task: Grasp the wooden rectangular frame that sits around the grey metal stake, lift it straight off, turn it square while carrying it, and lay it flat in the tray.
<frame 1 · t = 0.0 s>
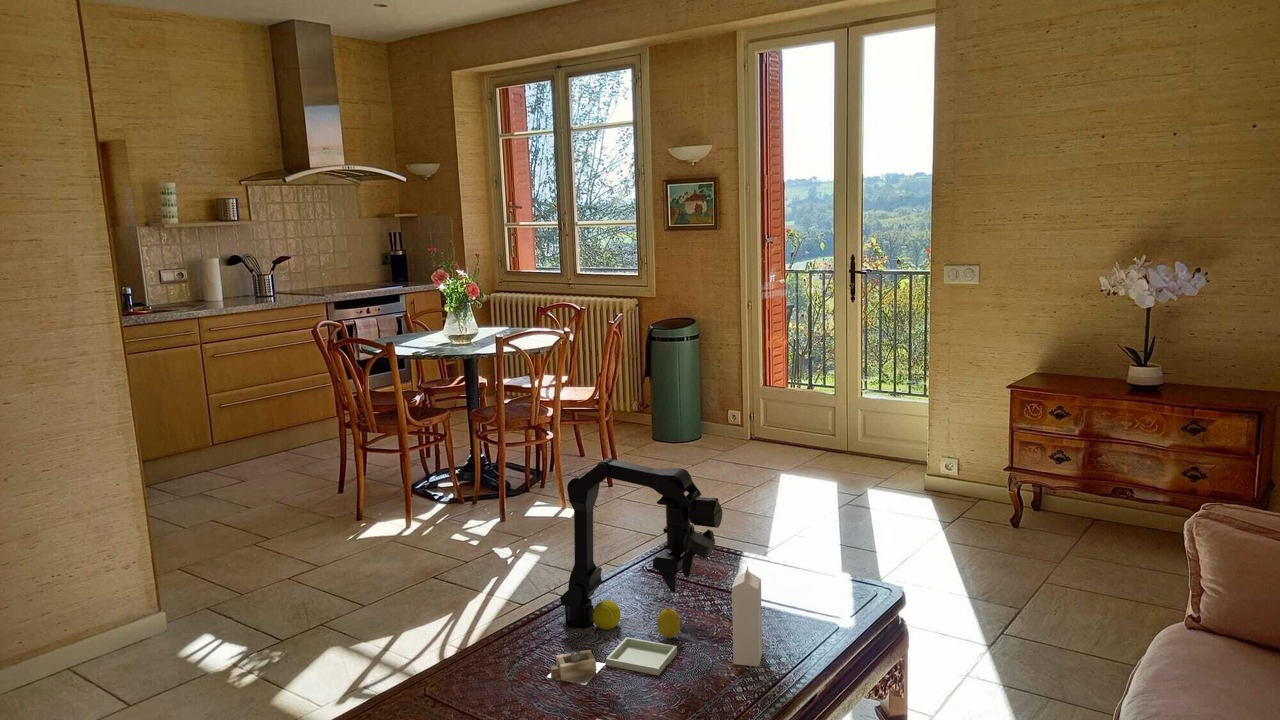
hand: (680, 584, 218), 15 cm above the table, tool pointing down, fingers open, 9 cm apart
lemon: (669, 639, 222), on the table
tennis ball: (607, 628, 229), on the table
milk: (748, 660, 211), on the table
stake: (576, 671, 208), on the table
wooden rectangular frame: (576, 670, 208), resting on stake
tray: (642, 660, 212), on the table
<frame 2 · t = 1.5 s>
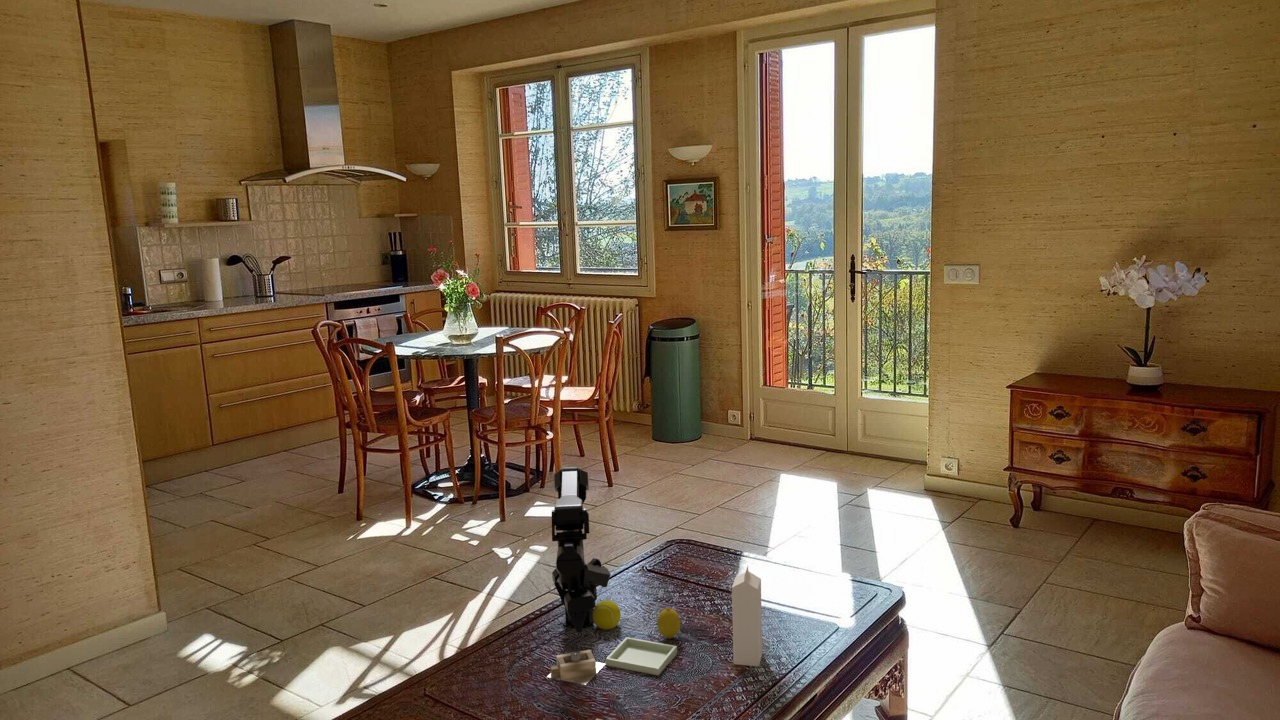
hand: (574, 623, 206), 12 cm above the table, tool pointing down, fingers open, 9 cm apart
nothing on the table moved.
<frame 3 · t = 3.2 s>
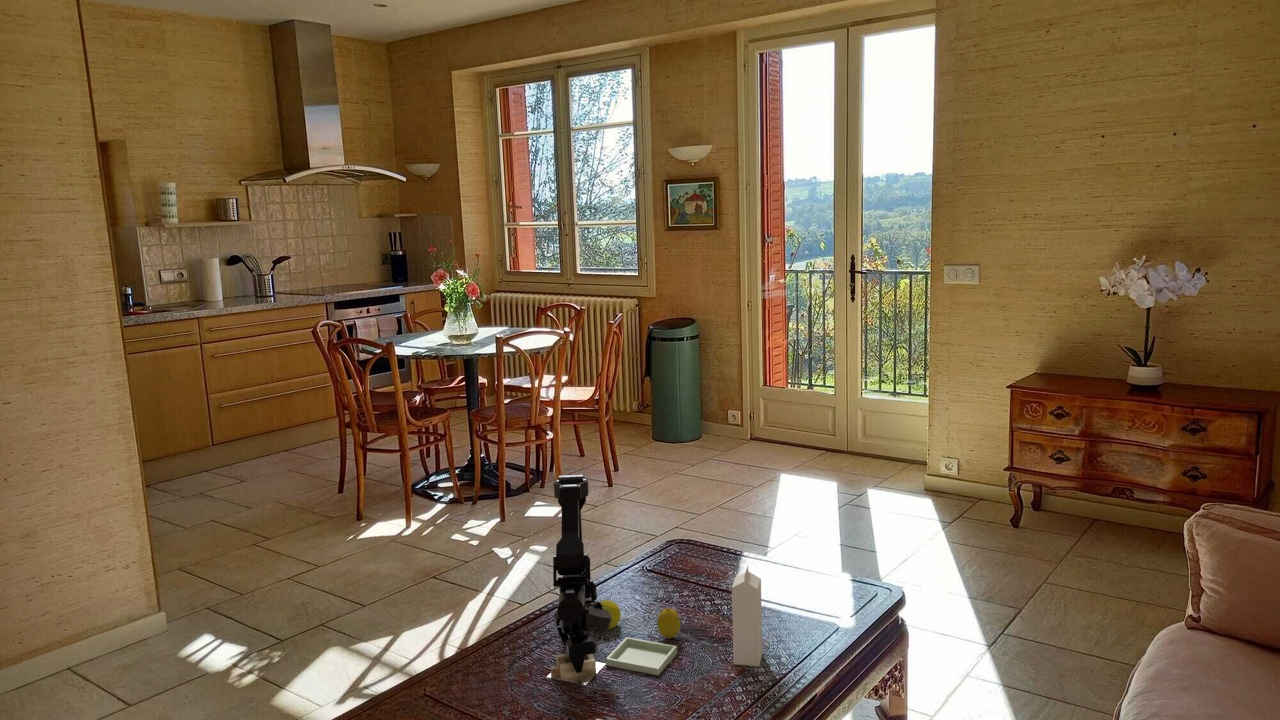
hand: (576, 666, 208), 1 cm above the table, tool pointing down, fingers closed on wooden rectangular frame, 6 cm apart
wooden rectangular frame: (576, 670, 208), resting on stake, touching gripper
everything else where it was.
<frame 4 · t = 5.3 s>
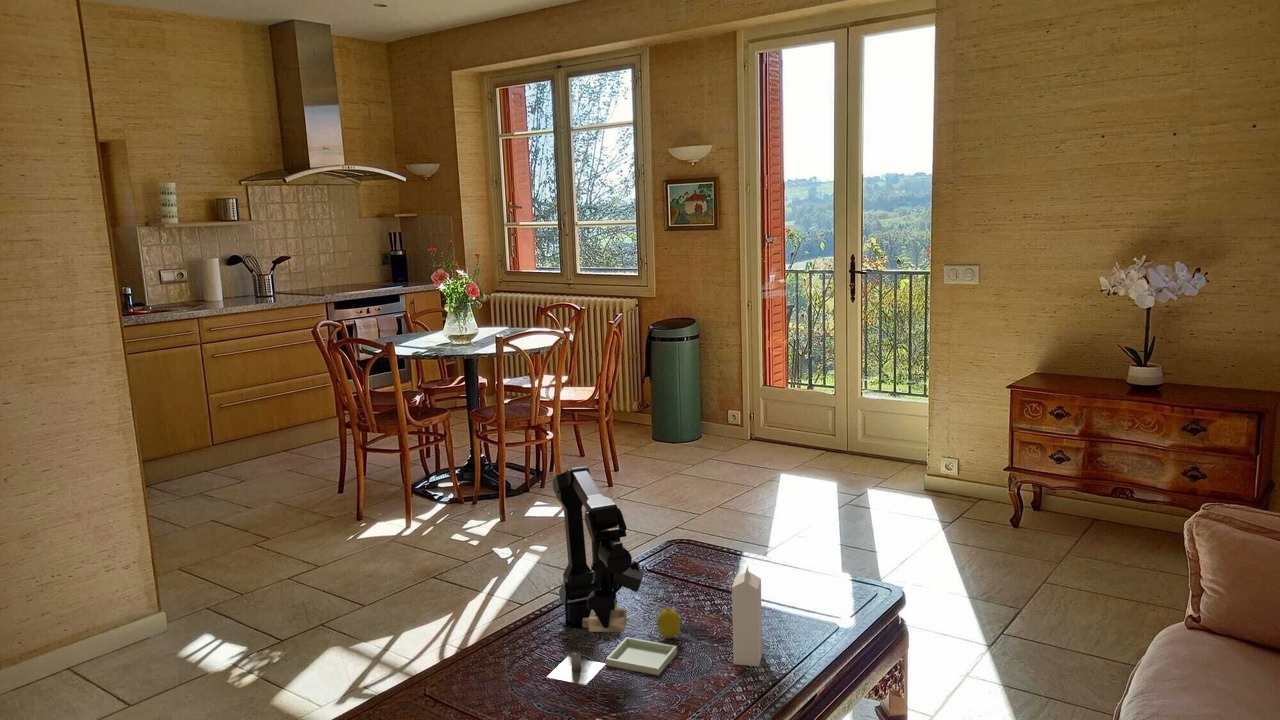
hand: (607, 621, 208), 11 cm above the table, tool pointing down, fingers closed on wooden rectangular frame, 6 cm apart
wooden rectangular frame: (608, 625, 208), point 10 cm above the table, touching gripper
everything else where it was.
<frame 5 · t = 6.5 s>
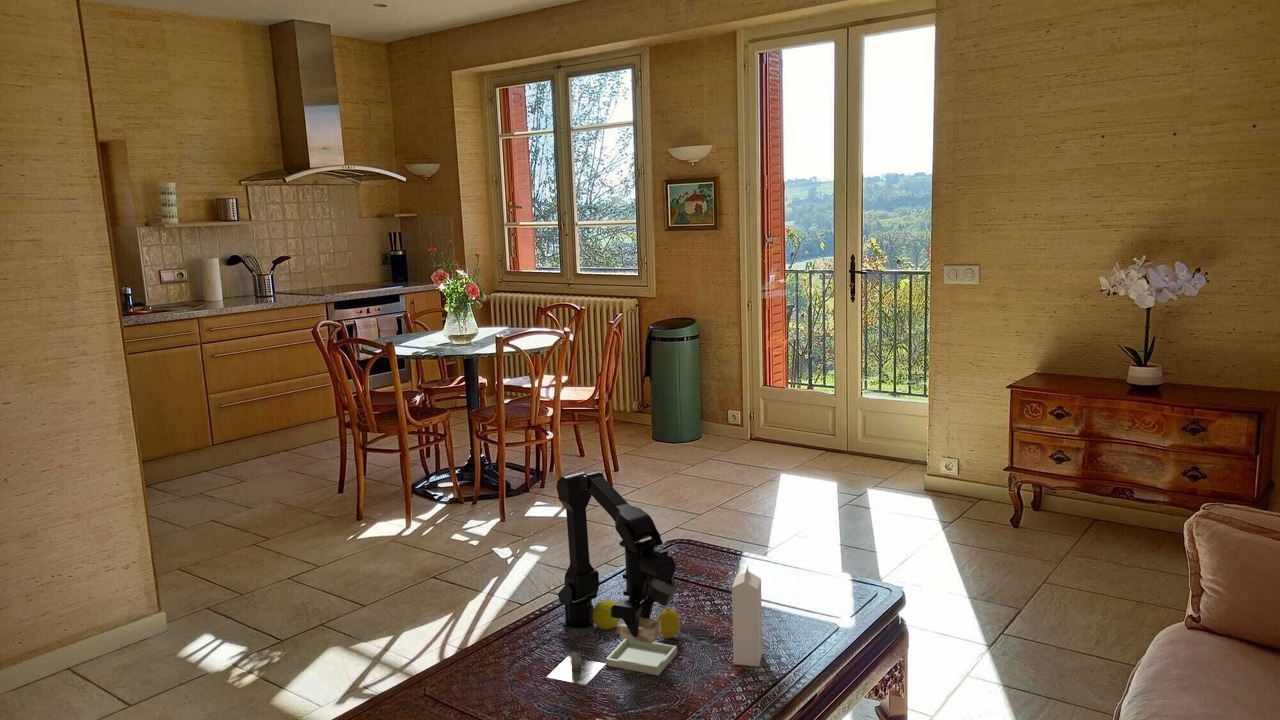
hand: (640, 631, 211), 7 cm above the table, tool pointing down, fingers closed on wooden rectangular frame, 6 cm apart
wooden rectangular frame: (640, 635, 211), point 6 cm above the table, touching gripper
everything else where it was.
when the fingers open (3 cm above the table, at t = 7.6 s): wooden rectangular frame drops 2 cm, resting on tray.
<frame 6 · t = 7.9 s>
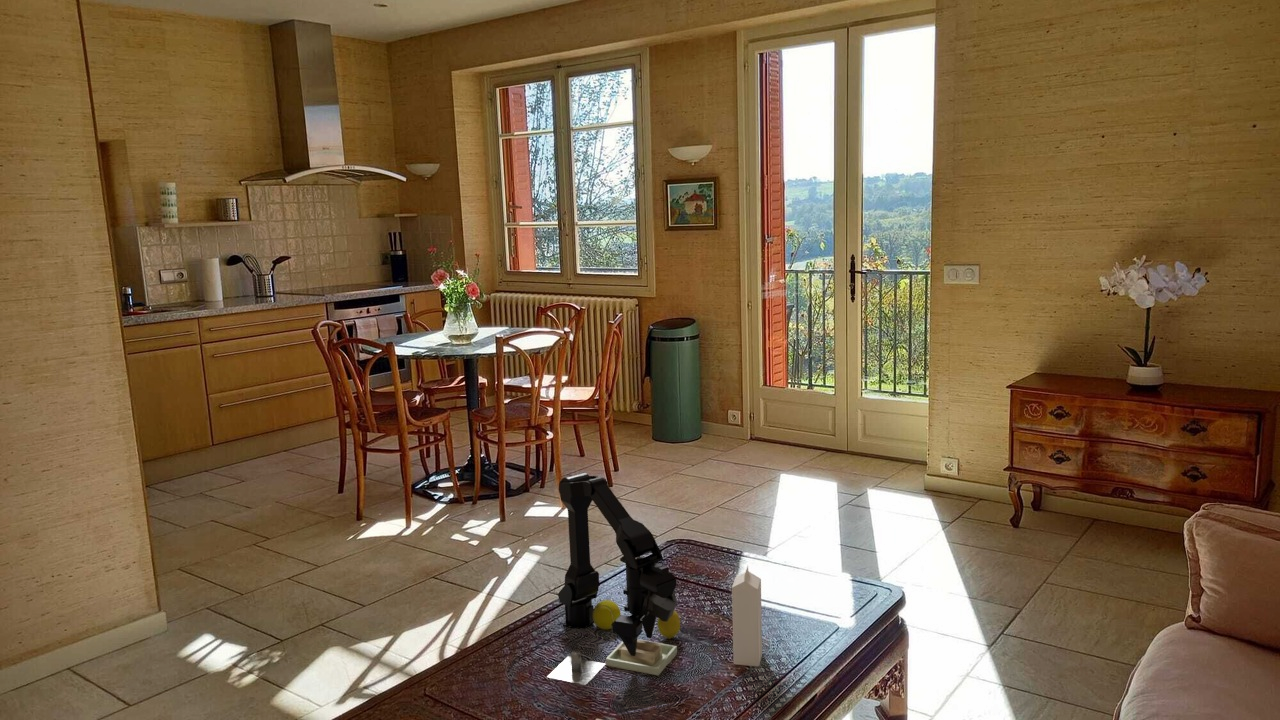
hand: (641, 646, 211), 3 cm above the table, tool pointing down, fingers open, 9 cm apart
wooden rectangular frame: (641, 658, 212), resting on tray
everything else where it was.
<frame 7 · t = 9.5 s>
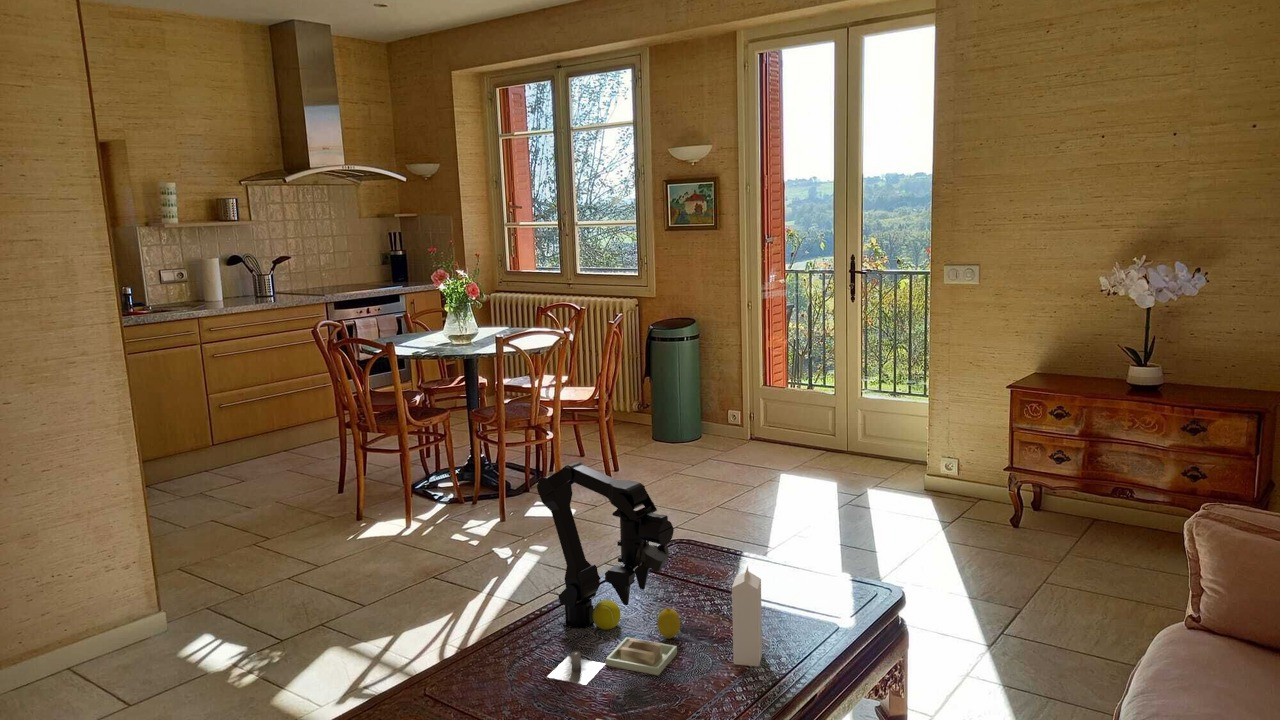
hand: (634, 596, 219), 12 cm above the table, tool pointing down, fingers open, 9 cm apart
nothing on the table moved.
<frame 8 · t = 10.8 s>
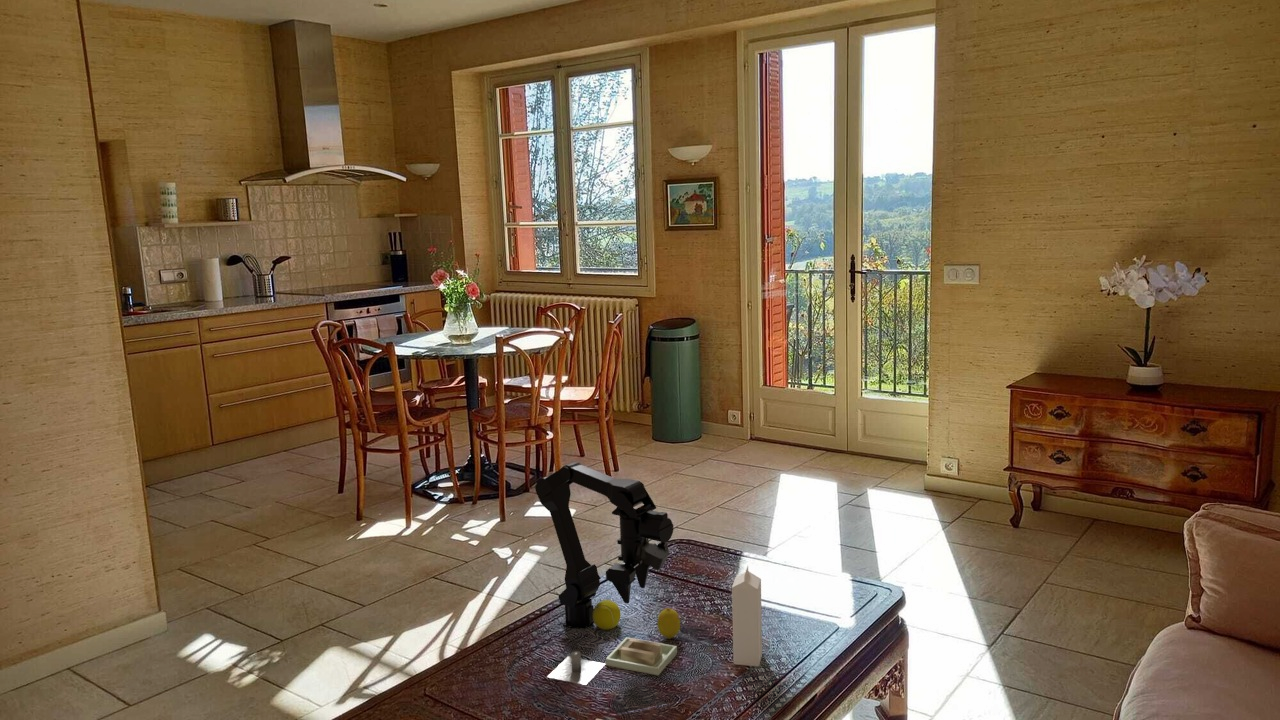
hand: (634, 595, 219), 12 cm above the table, tool pointing down, fingers open, 9 cm apart
nothing on the table moved.
at the end: wooden rectangular frame inside the target area on the tray (0.0 cm from its centre), point 0.5 cm above the tray's base; wooden rectangular frame tilted 0°; the gripper is holding nothing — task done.
